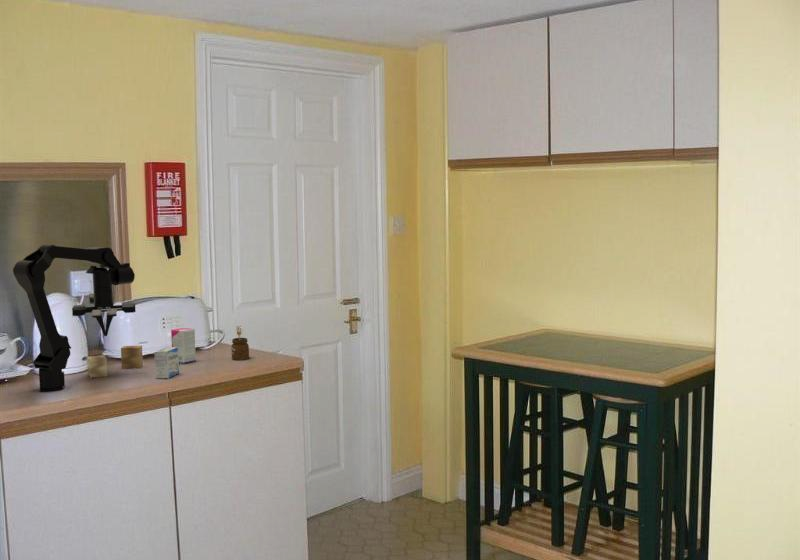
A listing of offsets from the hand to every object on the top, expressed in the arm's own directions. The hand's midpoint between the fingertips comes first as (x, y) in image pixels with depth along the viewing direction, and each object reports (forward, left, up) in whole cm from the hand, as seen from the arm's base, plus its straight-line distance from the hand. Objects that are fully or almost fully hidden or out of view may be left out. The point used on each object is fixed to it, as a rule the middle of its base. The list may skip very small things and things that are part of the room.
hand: (105, 336), depth 274 cm
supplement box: (+25, +14, -13) cm, 32 cm away
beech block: (-3, +3, -13) cm, 14 cm away
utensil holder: (+44, +12, -13) cm, 47 cm away
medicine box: (+18, -7, -13) cm, 23 cm away
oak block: (+8, +12, -13) cm, 19 cm away
